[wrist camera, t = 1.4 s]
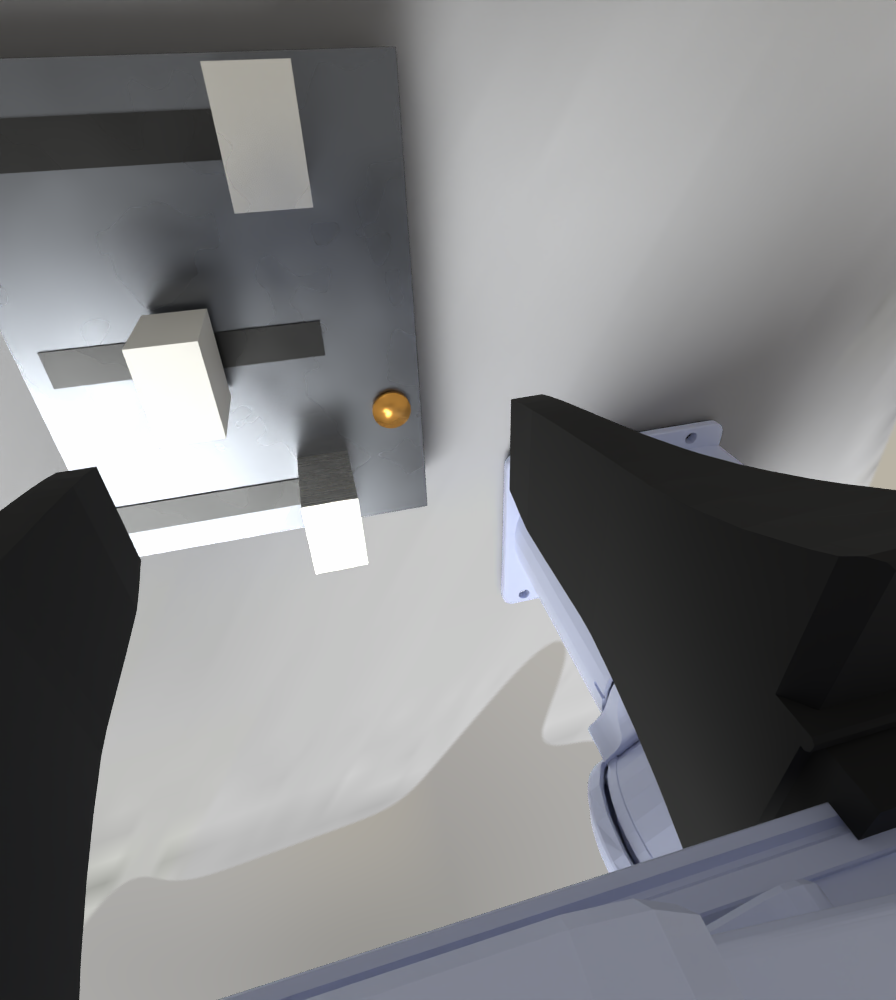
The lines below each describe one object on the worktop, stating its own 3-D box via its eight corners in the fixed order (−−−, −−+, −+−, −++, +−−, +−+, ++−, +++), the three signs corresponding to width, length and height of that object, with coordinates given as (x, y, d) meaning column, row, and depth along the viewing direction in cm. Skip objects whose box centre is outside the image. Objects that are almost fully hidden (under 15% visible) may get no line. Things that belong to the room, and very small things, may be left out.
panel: (381, 51, 15) (421, 37, 11) (416, 476, 22) (446, 554, 19) (-84, 65, 13) (-229, 55, 9) (125, 525, 21) (92, 623, 17)
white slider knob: (206, 308, 15) (197, 341, 13) (230, 396, 17) (226, 438, 15) (141, 315, 15) (122, 350, 13) (171, 405, 16) (158, 448, 14)
